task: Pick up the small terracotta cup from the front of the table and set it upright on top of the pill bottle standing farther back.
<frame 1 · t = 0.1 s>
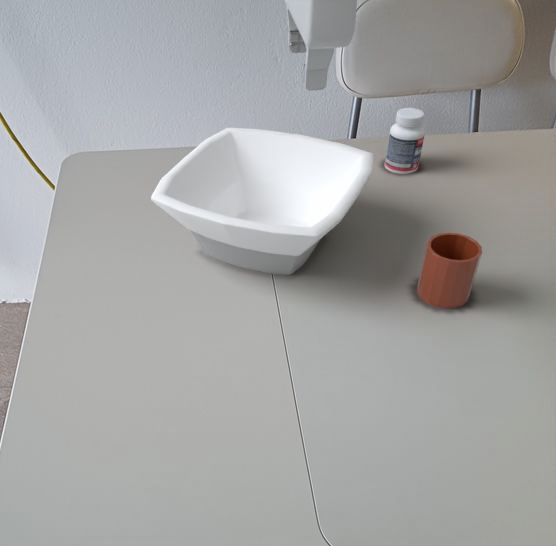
hand: (305, 67, 59), 28 cm above the table, tool pointing down, fingers open, 8 cm apart
pill bottle: (400, 168, 103), on the table
cup: (441, 295, 79), on the table
bowl: (264, 242, 89), on the table
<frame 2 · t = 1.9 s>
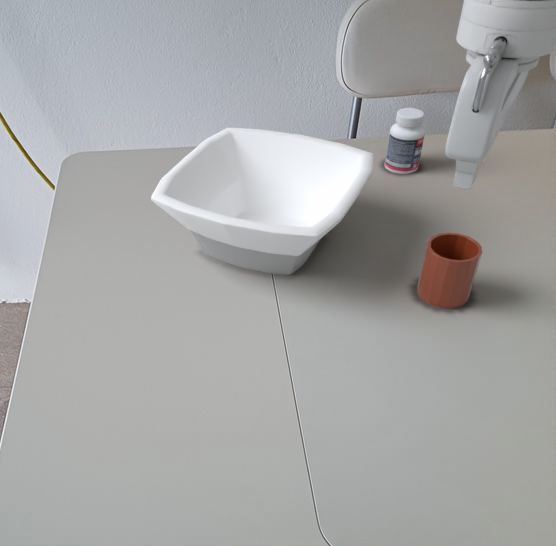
hand: (473, 165, 67), 17 cm above the table, tool pointing down, fingers open, 8 cm apart
nothing on the table moved.
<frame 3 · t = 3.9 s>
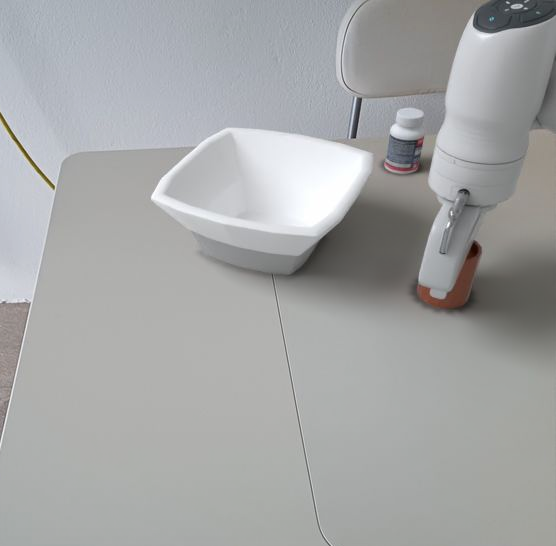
hand: (446, 277, 77), 3 cm above the table, tool pointing down, fingers closed on cup, 6 cm apart
cup: (441, 295, 79), on the table, touching gripper
everything else where it was.
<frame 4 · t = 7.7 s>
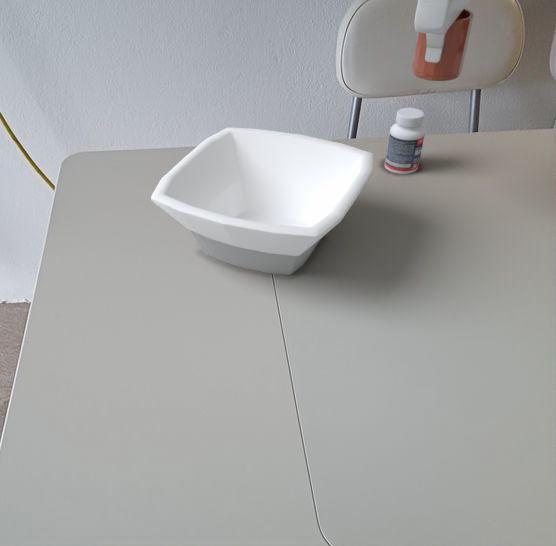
hand: (440, 50, 81), 21 cm above the table, tool pointing down, fingers closed on cup, 6 cm apart
cup: (435, 72, 83), point 18 cm above the table, touching gripper
everything else where it was.
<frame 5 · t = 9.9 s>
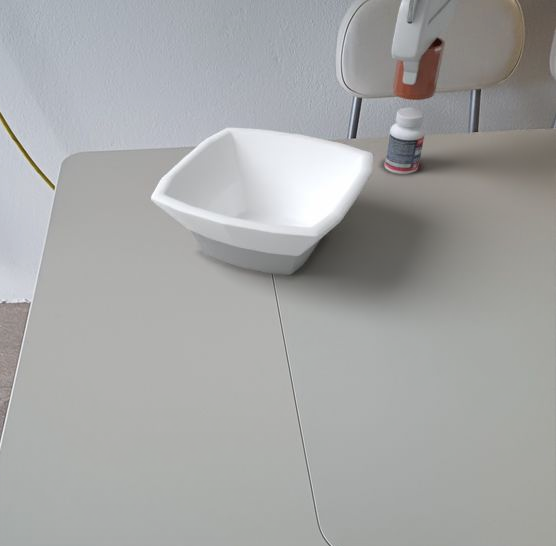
hand: (417, 73, 93), 15 cm above the table, tool pointing down, fingers closed on cup, 6 cm apart
cup: (413, 92, 95), point 12 cm above the table, touching gripper
everything else where it was.
when the fingers open (11 cm above the table, at t = 11.4 s): cup stays where it is, resting on pill bottle.
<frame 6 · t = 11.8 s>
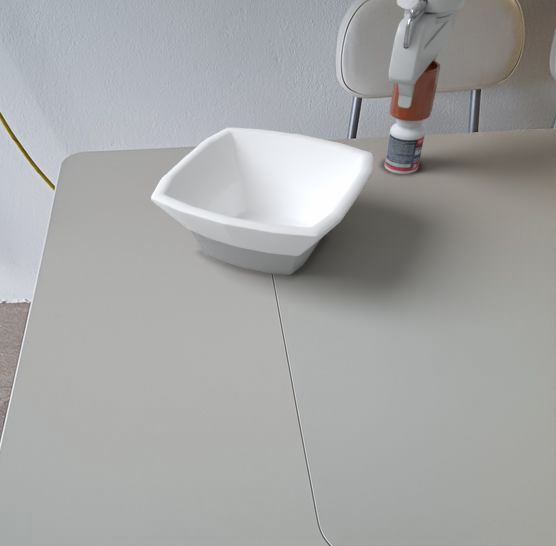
hand: (414, 94, 95), 12 cm above the table, tool pointing down, fingers open, 8 cm apart
pill bottle: (400, 168, 103), on the table, touching cup
cup: (409, 112, 97), point 9 cm above the table, touching pill bottle
everything else where it was.
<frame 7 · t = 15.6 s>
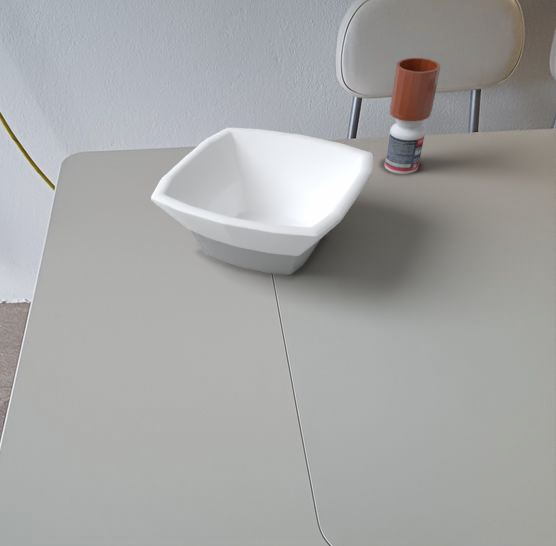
nothing on the table moved.
at the end: cup 0.1 cm off-centre on the pill bottle, point 9.1 cm above the pill bottle's base; cup tilted 0°; pill bottle tilted 0° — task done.
